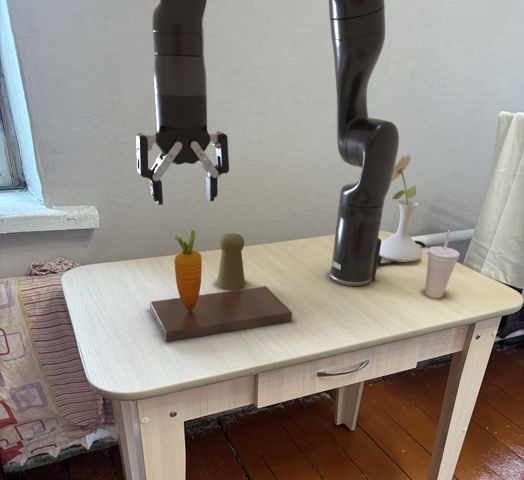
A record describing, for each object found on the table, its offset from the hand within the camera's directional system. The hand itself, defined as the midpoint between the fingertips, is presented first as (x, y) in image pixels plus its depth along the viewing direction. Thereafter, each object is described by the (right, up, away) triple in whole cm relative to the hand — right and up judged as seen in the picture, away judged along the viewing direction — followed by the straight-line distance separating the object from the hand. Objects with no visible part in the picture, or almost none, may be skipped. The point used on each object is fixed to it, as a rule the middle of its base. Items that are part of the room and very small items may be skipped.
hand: (185, 201), depth 82 cm
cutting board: (+5, -18, +14) cm, 23 cm away
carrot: (-1, -17, +11) cm, 20 cm away
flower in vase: (+46, -1, +45) cm, 64 cm away
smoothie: (+50, -12, +27) cm, 58 cm away
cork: (+6, -10, +27) cm, 29 cm away
